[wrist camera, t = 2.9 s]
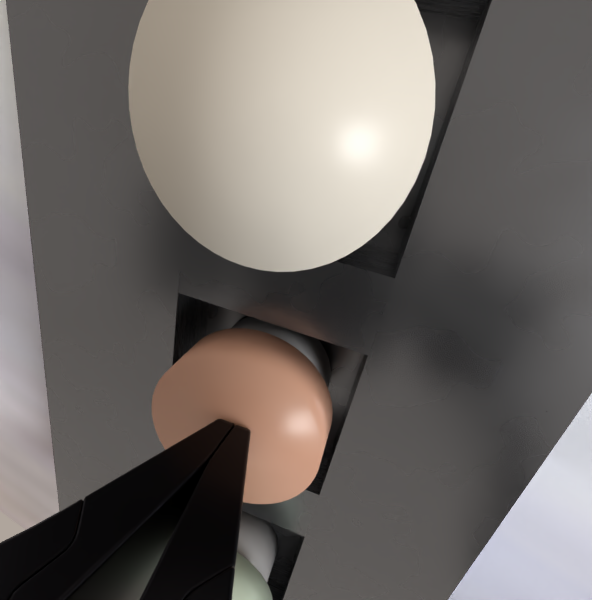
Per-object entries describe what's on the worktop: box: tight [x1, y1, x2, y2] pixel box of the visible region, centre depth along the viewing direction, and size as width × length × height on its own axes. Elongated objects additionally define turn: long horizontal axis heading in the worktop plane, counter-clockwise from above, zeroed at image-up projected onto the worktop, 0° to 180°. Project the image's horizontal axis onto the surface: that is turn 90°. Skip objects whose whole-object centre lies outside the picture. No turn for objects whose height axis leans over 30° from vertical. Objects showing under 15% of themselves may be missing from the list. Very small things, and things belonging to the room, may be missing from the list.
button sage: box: [232, 511, 278, 600], centre depth 13 cm, size 4×4×3 cm
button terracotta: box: [152, 316, 333, 504], centre depth 11 cm, size 4×4×3 cm
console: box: [6, 0, 592, 600], centre depth 12 cm, size 14×21×3 cm, turn 168°
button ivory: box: [128, 0, 435, 272], centre depth 7 cm, size 4×4×3 cm
